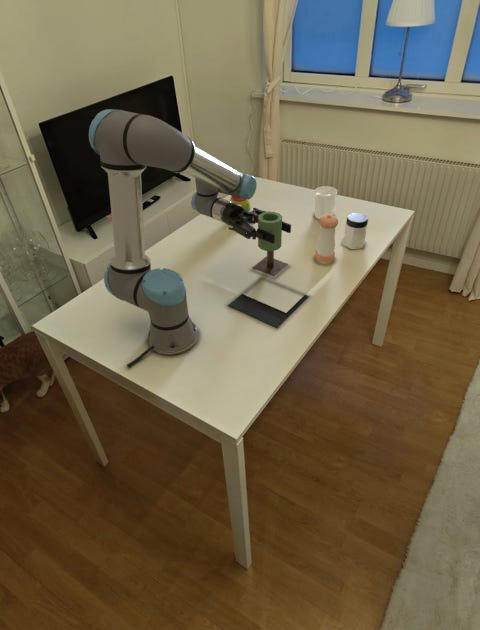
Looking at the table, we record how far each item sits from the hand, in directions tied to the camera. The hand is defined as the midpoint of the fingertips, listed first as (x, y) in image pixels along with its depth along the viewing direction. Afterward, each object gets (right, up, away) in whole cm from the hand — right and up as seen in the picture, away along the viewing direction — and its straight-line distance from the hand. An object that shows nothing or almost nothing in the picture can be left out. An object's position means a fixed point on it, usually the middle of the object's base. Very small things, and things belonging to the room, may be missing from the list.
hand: (282, 234), depth 134 cm
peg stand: (-1, -7, +31) cm, 32 cm away
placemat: (-3, -20, +16) cm, 26 cm away
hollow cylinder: (-3, -2, +6) cm, 8 cm away
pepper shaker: (+20, -4, +35) cm, 40 cm away
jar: (+33, +4, +43) cm, 55 cm away
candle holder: (+25, +20, +62) cm, 70 cm away
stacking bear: (-13, +18, +62) cm, 66 cm away
